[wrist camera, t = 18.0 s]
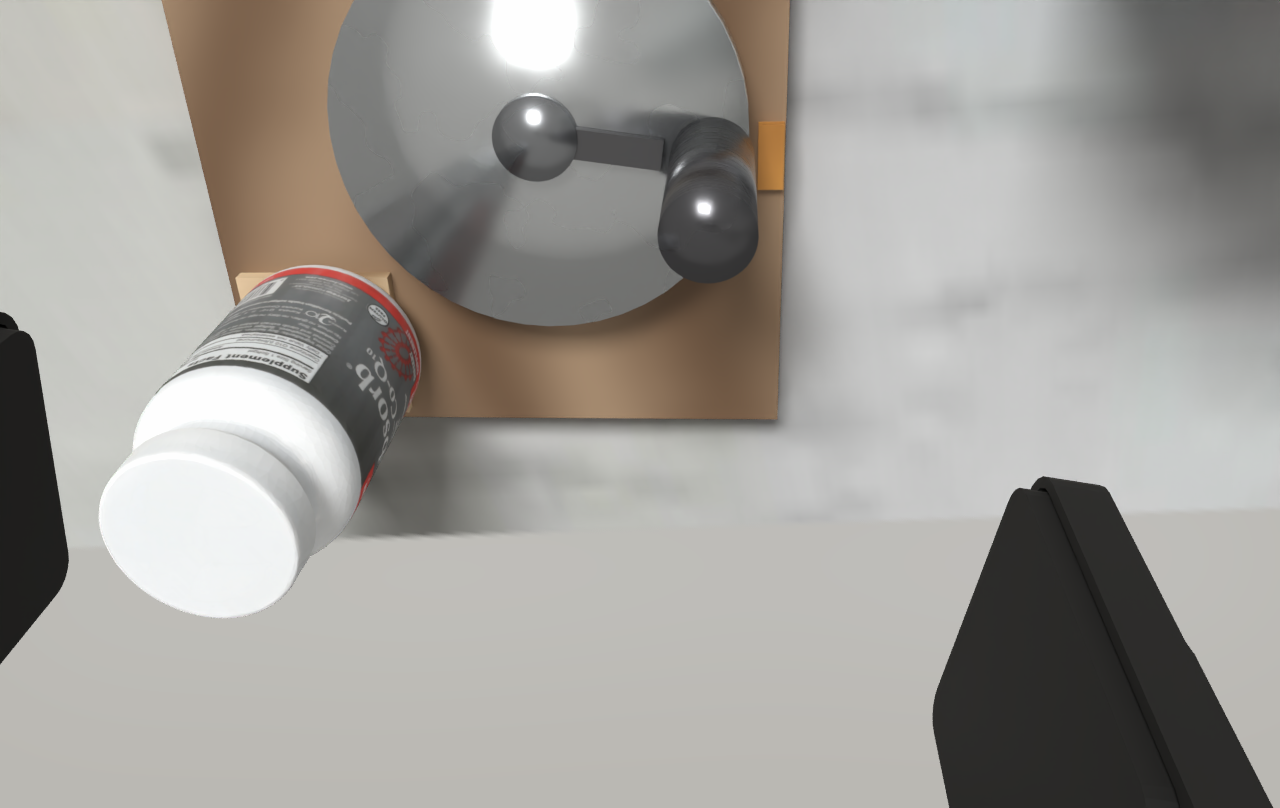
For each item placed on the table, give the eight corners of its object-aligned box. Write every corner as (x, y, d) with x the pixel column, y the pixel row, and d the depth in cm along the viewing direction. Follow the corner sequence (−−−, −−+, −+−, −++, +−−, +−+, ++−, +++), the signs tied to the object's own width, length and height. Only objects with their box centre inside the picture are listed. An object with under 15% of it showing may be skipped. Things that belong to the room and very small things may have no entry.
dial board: (791, -139, 28) (794, -133, 26) (776, 400, 35) (777, 426, 34) (156, -117, 29) (127, -111, 28) (275, 397, 37) (257, 422, 35)
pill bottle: (425, 435, 35) (326, 653, 27) (248, 412, 35) (92, 623, 27) (426, 270, 32) (315, 454, 24) (233, 245, 32) (53, 421, 24)
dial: (722, 335, 32) (720, 454, 27) (343, 284, 32) (263, 392, 27) (790, -68, 27) (806, -23, 21) (332, -129, 27) (229, -99, 21)
